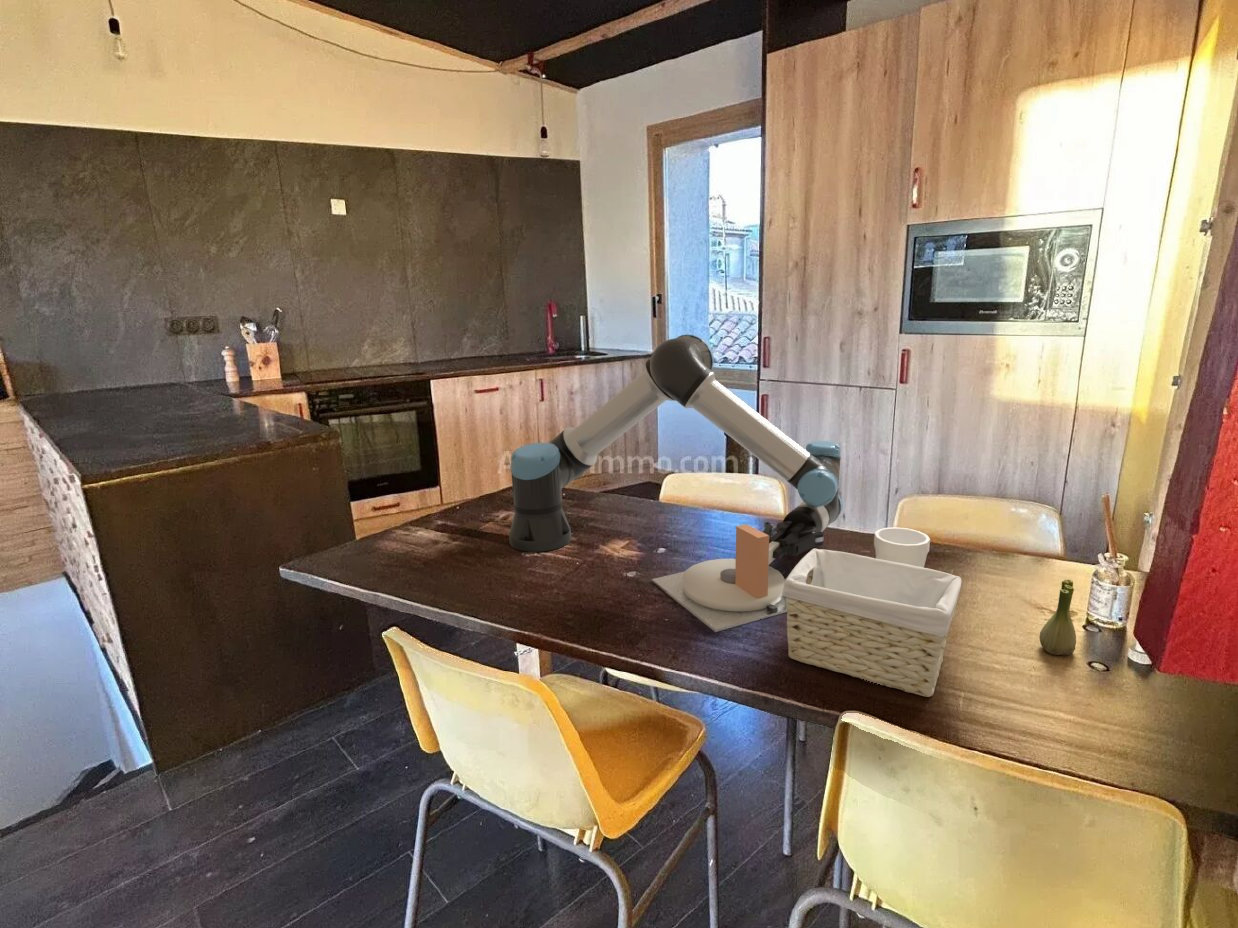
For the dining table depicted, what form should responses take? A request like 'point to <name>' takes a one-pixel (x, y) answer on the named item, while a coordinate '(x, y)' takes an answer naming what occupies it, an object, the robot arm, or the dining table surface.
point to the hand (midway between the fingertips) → (762, 559)
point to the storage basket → (870, 618)
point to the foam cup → (901, 546)
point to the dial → (737, 576)
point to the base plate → (714, 616)
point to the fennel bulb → (1060, 625)
